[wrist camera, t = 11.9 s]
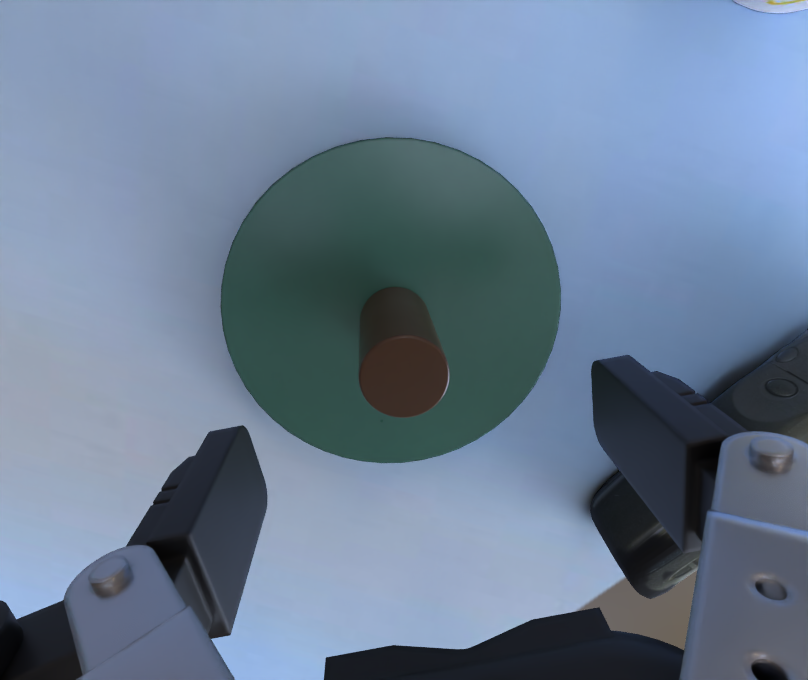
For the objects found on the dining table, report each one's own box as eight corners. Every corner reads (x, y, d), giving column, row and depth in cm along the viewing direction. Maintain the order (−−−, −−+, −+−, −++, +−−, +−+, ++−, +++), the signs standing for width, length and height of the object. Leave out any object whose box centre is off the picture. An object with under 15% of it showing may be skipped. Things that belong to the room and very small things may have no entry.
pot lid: (276, 471, 23) (245, 588, 17) (182, 173, 18) (92, 187, 12) (559, 419, 23) (628, 516, 17) (538, 107, 18) (624, 88, 12)
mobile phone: (661, 618, 21) (1015, 367, 17) (616, 584, 20) (978, 311, 16) (609, 531, 25) (880, 318, 22) (571, 500, 25) (846, 272, 21)
